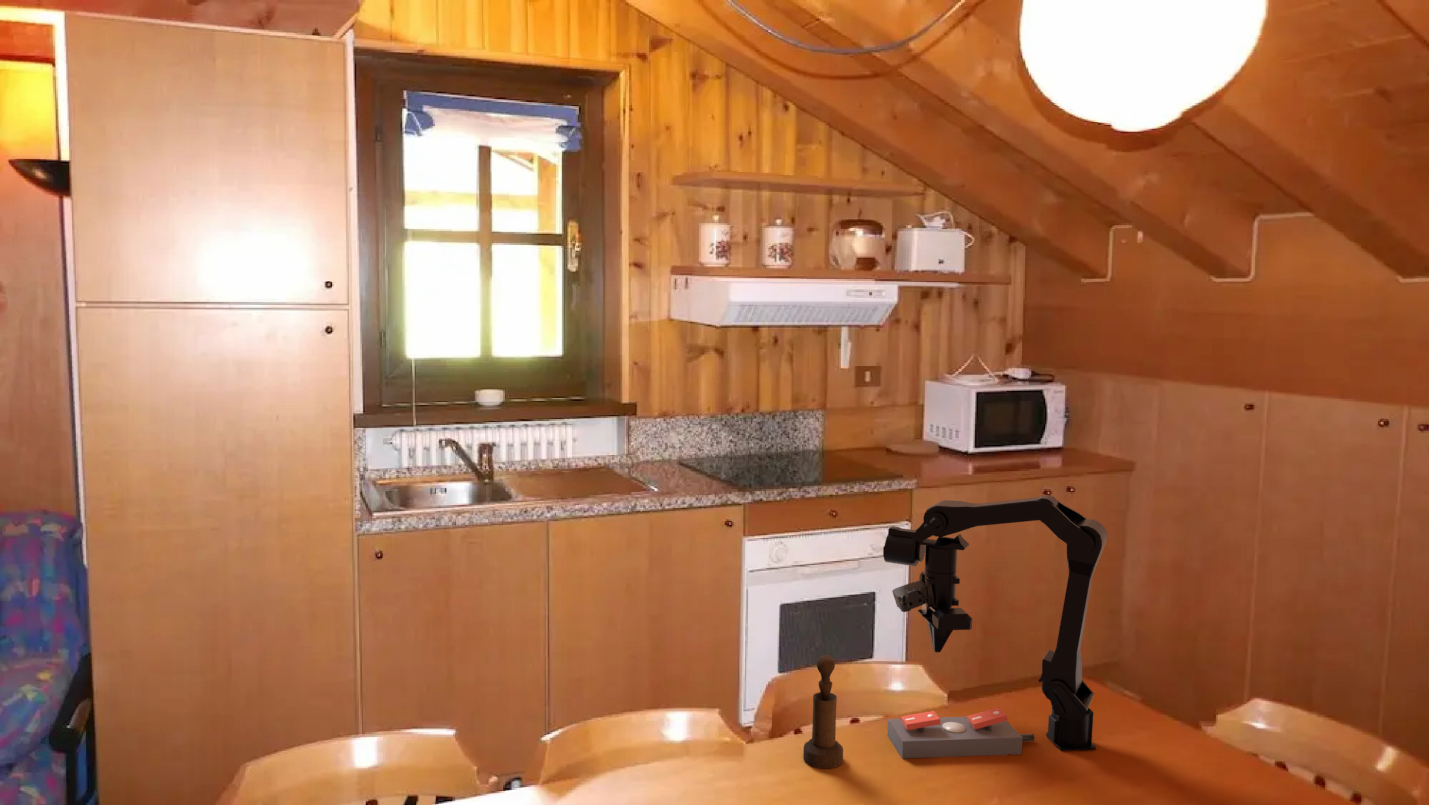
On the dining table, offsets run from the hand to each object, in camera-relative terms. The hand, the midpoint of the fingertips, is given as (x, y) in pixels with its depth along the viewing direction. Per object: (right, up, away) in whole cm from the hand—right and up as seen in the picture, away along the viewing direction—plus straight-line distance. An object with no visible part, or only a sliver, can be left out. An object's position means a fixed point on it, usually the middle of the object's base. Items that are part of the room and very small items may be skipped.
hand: (937, 651), depth 189 cm
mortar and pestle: (-23, -14, -18) cm, 33 cm away
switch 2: (+6, -9, -11) cm, 16 cm away
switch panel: (+2, -13, -11) cm, 18 cm away
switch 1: (-6, -9, -13) cm, 17 cm away
